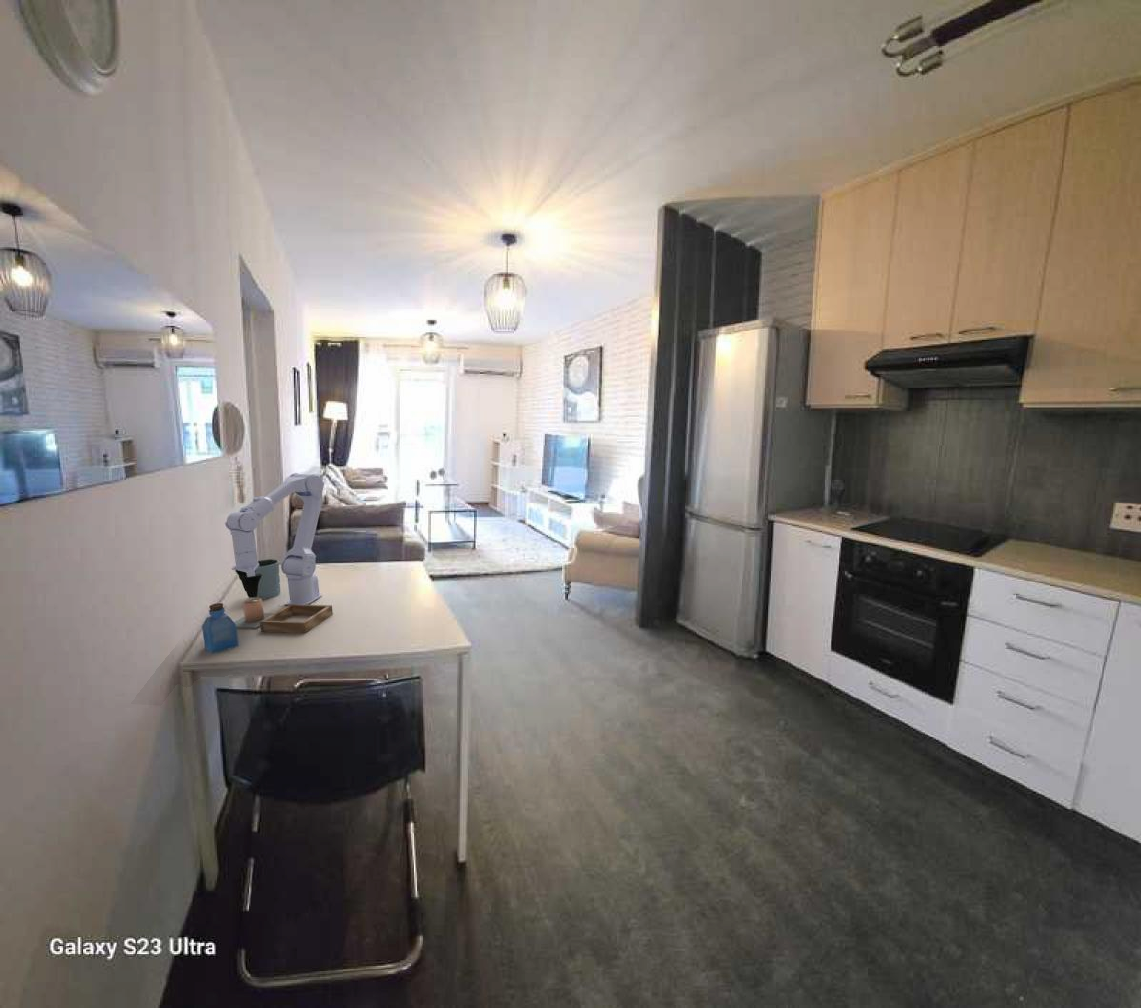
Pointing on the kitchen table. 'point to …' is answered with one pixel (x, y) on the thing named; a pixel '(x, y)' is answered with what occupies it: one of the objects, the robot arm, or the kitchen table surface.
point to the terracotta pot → (253, 610)
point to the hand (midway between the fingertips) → (250, 593)
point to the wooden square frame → (277, 625)
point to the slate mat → (250, 625)
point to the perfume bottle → (219, 630)
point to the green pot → (268, 578)
